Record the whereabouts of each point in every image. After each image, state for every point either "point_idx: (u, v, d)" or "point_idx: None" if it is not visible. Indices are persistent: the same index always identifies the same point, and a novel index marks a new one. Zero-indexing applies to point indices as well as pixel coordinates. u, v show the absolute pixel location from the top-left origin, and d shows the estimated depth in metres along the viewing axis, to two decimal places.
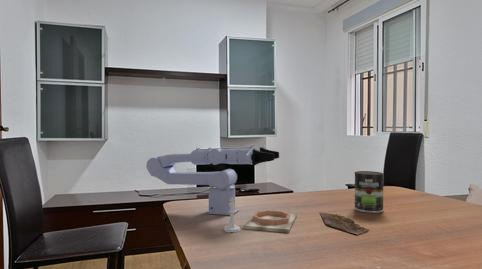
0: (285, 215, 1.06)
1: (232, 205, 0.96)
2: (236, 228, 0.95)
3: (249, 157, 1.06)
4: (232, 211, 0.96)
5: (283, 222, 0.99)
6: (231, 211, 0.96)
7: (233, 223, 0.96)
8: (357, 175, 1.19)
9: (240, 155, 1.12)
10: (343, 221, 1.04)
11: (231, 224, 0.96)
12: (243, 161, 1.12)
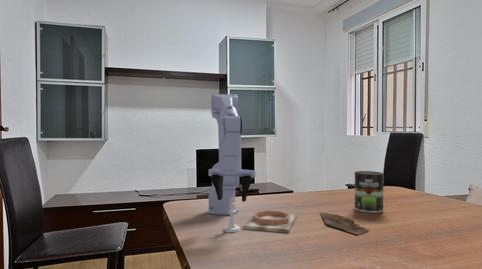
0: (285, 215, 1.06)
1: (232, 205, 0.96)
2: (236, 228, 0.95)
3: None
4: (232, 211, 0.96)
5: (283, 222, 0.99)
6: (231, 211, 0.96)
7: (233, 223, 0.96)
8: (357, 175, 1.19)
9: None
10: (343, 221, 1.04)
11: (231, 224, 0.96)
12: None
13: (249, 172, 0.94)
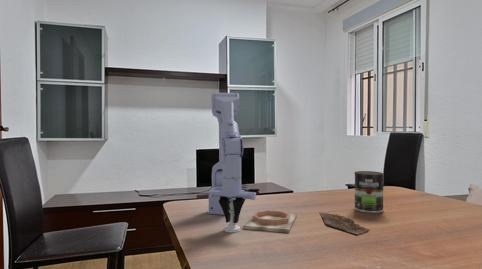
0: (285, 215, 1.06)
1: (232, 205, 0.96)
2: (236, 228, 0.95)
3: None
4: (232, 211, 0.96)
5: (283, 222, 0.99)
6: (231, 211, 0.96)
7: (233, 223, 0.96)
8: (357, 175, 1.19)
9: None
10: (343, 221, 1.04)
11: (231, 224, 0.96)
12: None
13: (249, 194, 0.94)
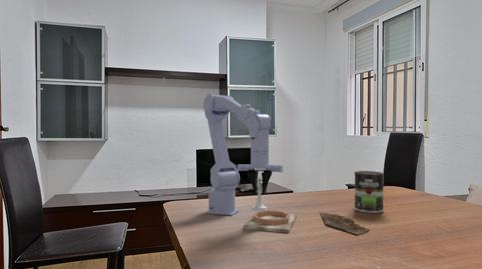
0: (285, 215, 1.06)
1: (260, 185, 1.01)
2: (263, 207, 0.99)
3: None
4: (260, 191, 1.01)
5: (283, 222, 0.99)
6: (259, 191, 1.01)
7: (260, 202, 1.00)
8: (357, 175, 1.19)
9: None
10: (343, 221, 1.04)
11: (258, 203, 1.00)
12: None
13: (277, 167, 0.99)
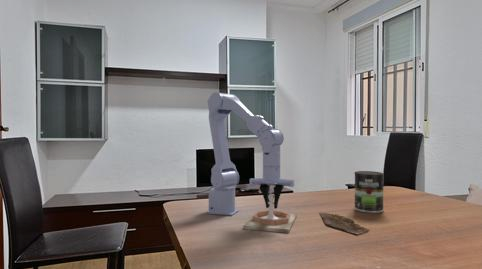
0: (285, 215, 1.06)
1: (271, 197, 1.02)
2: (275, 218, 1.02)
3: None
4: (271, 202, 1.02)
5: (283, 222, 0.99)
6: (270, 202, 1.02)
7: (272, 214, 1.02)
8: (357, 175, 1.19)
9: None
10: (343, 221, 1.04)
11: (270, 215, 1.02)
12: None
13: (289, 182, 1.01)
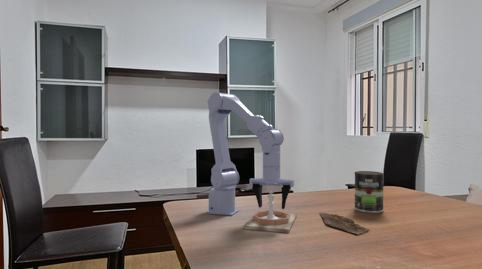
0: (285, 215, 1.06)
1: (271, 197, 1.02)
2: (275, 218, 1.02)
3: None
4: (271, 202, 1.02)
5: (283, 222, 0.99)
6: (270, 202, 1.02)
7: (272, 214, 1.02)
8: (357, 175, 1.19)
9: None
10: (343, 221, 1.04)
11: (270, 215, 1.02)
12: None
13: (289, 182, 1.01)
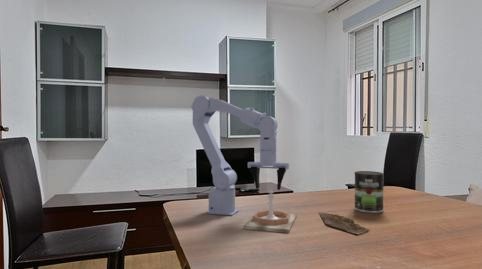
0: (285, 215, 1.06)
1: (271, 197, 1.02)
2: (275, 218, 1.02)
3: None
4: (271, 202, 1.02)
5: (283, 222, 0.99)
6: (270, 202, 1.02)
7: (272, 214, 1.02)
8: (357, 175, 1.19)
9: (260, 153, 1.12)
10: (343, 221, 1.04)
11: (270, 215, 1.02)
12: None
13: (284, 164, 1.09)
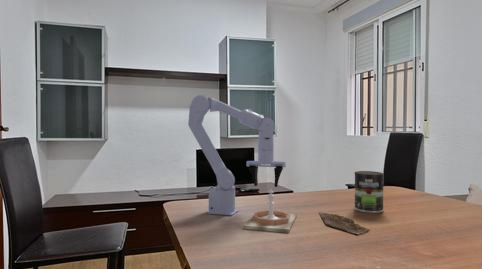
0: (285, 215, 1.06)
1: (271, 197, 1.02)
2: (275, 218, 1.02)
3: None
4: (271, 202, 1.02)
5: (283, 222, 0.99)
6: (270, 202, 1.02)
7: (272, 214, 1.02)
8: (357, 175, 1.19)
9: (258, 153, 1.19)
10: (343, 221, 1.04)
11: (270, 215, 1.02)
12: None
13: (280, 163, 1.16)
